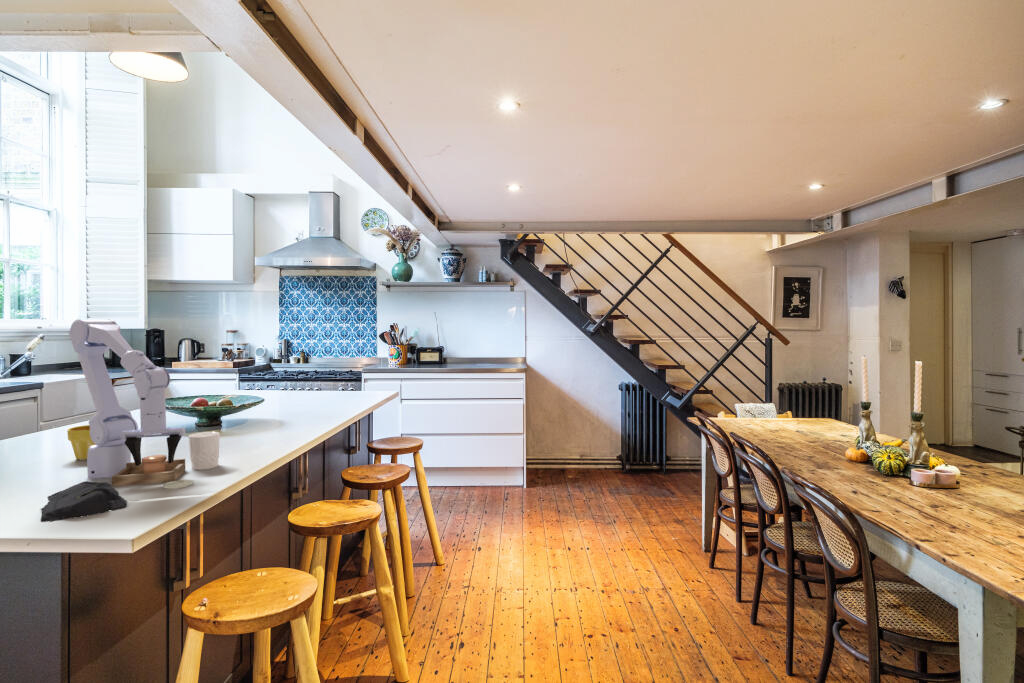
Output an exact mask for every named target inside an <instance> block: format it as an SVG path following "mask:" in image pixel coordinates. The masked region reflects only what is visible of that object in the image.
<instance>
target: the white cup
mask: <svg viewBox="0 0 1024 683" xmlns="http://www.w3.org/2000/svg"><path fill="white" fill-rule="evenodd" d="M220 434H221V433H220V432H218V431H203V432H202V431H201V432H196V433H192V434H191V433H190V434H189V435H188V445H189V457H190V458H189V459H190V464H191V465H190V466H191V469H192V470H197V471H199V470H200V471H201V470H208V469H213V468H216V467H218V466H219V457H220V436H221V435H220Z"/></svg>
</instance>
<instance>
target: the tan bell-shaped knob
mask: <svg viewBox="0 0 1024 683" xmlns="http://www.w3.org/2000/svg"><path fill="white" fill-rule="evenodd" d="M165 460H168V455H166V454H155V455H149V456H144V457H141V462H143V473H156V472H166V465H165Z"/></svg>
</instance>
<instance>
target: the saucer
mask: <svg viewBox="0 0 1024 683" xmlns="http://www.w3.org/2000/svg"><path fill="white" fill-rule="evenodd" d="M193 484H194V481H193V480H191V479H179V480H178V479H177V480H175V481H172V482H165V483H164V484H162V488H163V489H165V490H175V489H176V490H177V489H183V488H188V487H190V486H193Z"/></svg>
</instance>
